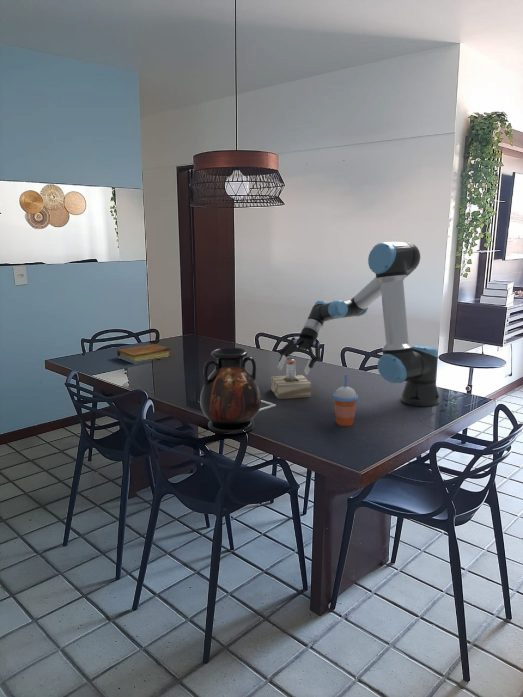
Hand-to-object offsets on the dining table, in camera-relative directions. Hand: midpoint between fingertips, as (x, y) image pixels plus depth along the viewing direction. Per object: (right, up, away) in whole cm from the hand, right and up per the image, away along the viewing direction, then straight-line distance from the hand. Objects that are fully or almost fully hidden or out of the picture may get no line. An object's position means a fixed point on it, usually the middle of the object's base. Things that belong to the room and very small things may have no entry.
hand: (292, 371), depth 233 cm
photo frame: (-19, -14, -15) cm, 27 cm away
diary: (-79, +4, +69) cm, 104 cm away
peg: (0, -9, +1) cm, 9 cm away
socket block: (-1, -10, +1) cm, 10 cm away
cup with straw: (+17, -18, -37) cm, 44 cm away
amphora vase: (-24, -19, -40) cm, 51 cm away
